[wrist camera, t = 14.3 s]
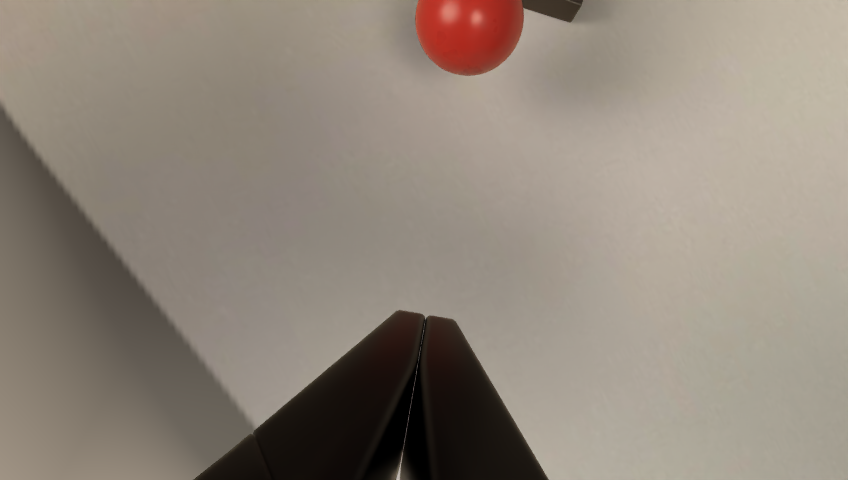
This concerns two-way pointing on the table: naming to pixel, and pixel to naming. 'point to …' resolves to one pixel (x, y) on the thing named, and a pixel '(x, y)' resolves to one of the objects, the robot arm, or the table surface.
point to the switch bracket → (555, 8)
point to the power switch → (469, 33)
